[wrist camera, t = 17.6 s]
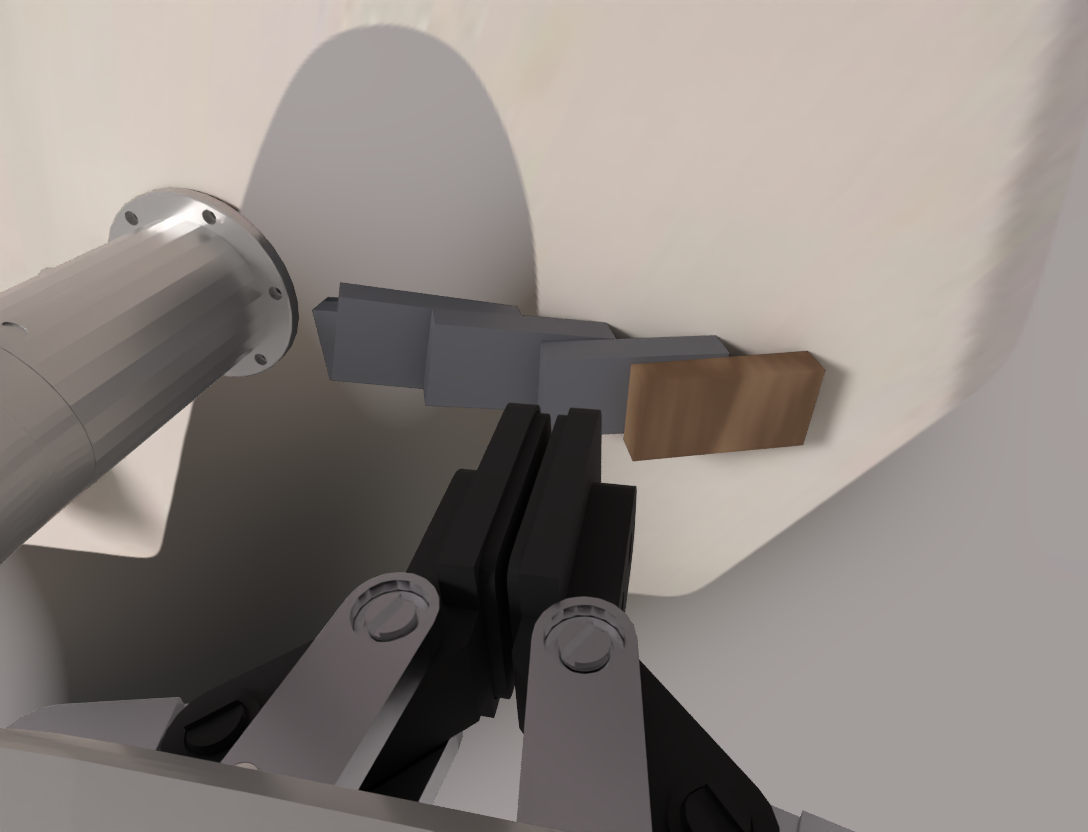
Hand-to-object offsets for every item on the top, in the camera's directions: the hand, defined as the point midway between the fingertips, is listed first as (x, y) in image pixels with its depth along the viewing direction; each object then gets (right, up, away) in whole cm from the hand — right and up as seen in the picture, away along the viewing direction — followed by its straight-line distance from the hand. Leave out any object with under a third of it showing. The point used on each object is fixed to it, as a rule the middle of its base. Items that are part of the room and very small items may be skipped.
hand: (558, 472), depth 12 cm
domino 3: (+3, +4, +27) cm, 27 cm away
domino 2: (-2, +5, +27) cm, 28 cm away
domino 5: (+14, +2, +25) cm, 29 cm away
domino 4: (+10, +3, +26) cm, 28 cm away
